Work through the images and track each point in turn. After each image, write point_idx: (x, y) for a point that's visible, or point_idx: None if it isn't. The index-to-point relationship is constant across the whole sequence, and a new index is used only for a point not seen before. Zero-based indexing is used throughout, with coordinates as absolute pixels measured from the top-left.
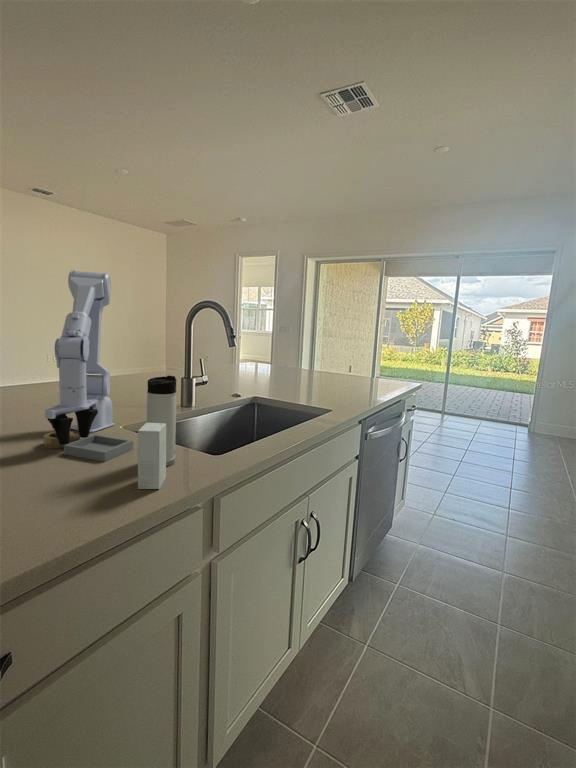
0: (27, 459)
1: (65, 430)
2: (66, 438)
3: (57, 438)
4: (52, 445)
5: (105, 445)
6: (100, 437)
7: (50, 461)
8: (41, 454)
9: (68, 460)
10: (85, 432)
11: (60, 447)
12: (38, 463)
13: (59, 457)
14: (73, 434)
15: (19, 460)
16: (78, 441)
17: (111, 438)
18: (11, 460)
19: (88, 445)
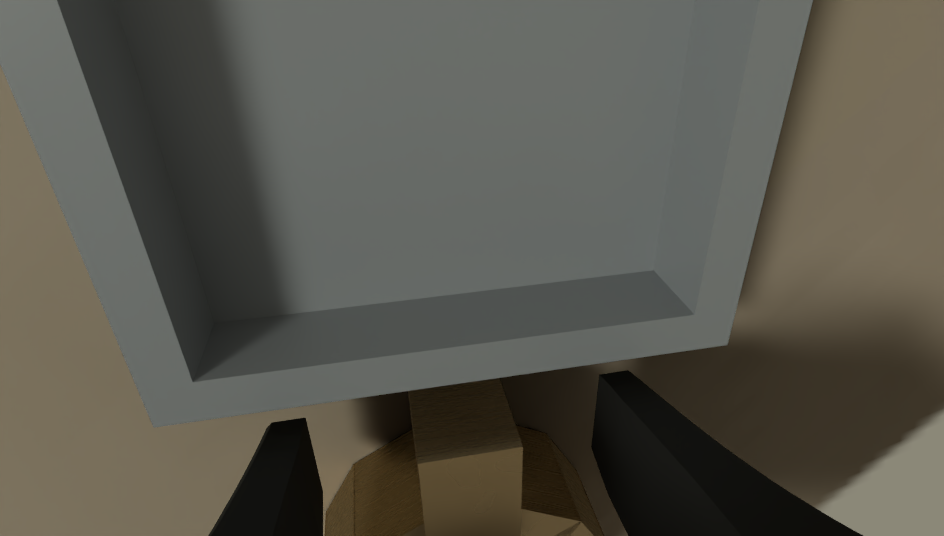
0: (845, 392)
1: (816, 511)
2: (689, 421)
3: (583, 533)
4: (581, 490)
5: (243, 74)
6: (171, 287)
7: (871, 222)
8: (721, 412)
9: (825, 98)
10: (298, 493)
11: (541, 438)
12: (926, 260)
13: (757, 246)
14: (448, 518)
15: (871, 411)
16: (542, 334)
17: (79, 55)
18: (875, 443)
19: (389, 269)
